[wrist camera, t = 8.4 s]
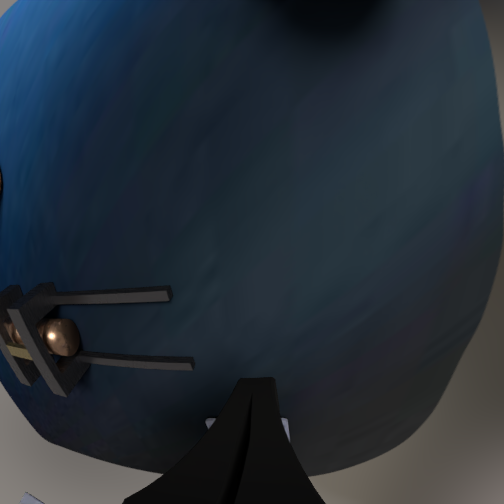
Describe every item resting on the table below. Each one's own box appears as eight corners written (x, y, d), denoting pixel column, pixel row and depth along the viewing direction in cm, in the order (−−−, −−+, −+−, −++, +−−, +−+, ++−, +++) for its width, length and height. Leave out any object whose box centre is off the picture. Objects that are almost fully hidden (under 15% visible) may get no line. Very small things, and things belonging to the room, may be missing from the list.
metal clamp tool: (198, 372, 23) (182, 416, 18) (43, 357, 26) (21, 383, 21) (166, 272, 20) (136, 310, 15) (9, 285, 23) (-20, 307, 18)
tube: (69, 311, 22) (49, 333, 19) (84, 341, 24) (66, 363, 21) (14, 310, 24) (-3, 326, 21) (27, 335, 25) (11, 352, 22)
